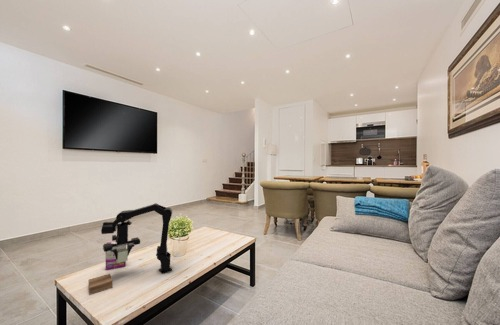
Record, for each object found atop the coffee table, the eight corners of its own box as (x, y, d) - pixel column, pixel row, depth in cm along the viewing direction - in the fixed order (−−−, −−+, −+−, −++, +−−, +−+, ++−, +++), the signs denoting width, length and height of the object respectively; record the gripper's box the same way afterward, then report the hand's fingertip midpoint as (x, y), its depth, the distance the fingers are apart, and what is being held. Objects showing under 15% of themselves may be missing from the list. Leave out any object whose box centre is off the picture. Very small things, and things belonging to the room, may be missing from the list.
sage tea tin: (127, 260, 125) (127, 250, 125) (117, 263, 122) (118, 252, 122) (125, 257, 129) (125, 248, 129) (116, 260, 125) (116, 250, 125)
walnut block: (112, 288, 114) (112, 281, 114) (89, 295, 107) (89, 287, 107) (110, 280, 121) (110, 273, 121) (88, 286, 115) (88, 279, 115)
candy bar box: (126, 263, 142) (126, 239, 142) (125, 266, 137) (125, 241, 137) (106, 267, 136) (106, 242, 137) (105, 270, 132) (105, 244, 132)
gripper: (136, 226, 138) (135, 249, 137) (101, 232, 125) (101, 258, 125) (140, 230, 129) (140, 255, 129) (104, 237, 117) (104, 264, 117)
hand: (121, 258), depth 125 cm, fingers closed on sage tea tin, 5 cm apart
